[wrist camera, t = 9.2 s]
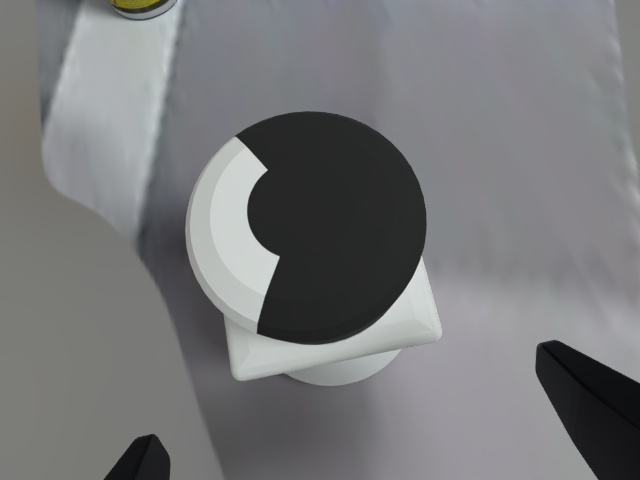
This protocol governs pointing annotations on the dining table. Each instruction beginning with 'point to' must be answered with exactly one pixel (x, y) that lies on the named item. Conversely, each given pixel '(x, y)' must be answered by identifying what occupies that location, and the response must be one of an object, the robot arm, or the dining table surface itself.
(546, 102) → the dining table surface
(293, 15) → the dining table surface
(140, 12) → the supplement bottle
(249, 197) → the medicine bottle
